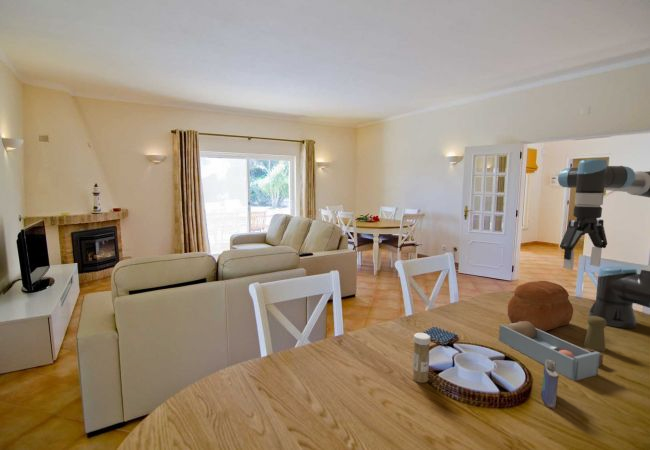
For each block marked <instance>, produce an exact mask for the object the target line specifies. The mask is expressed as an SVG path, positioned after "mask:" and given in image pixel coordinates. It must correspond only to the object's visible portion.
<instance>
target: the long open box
mask: <svg viewBox="0 0 650 450" xmlns="http://www.w3.org/2000/svg"><path fill="white" fill-rule="evenodd" d="M498 341H499V342H501V343H503V344H505V345H506V346H508V347H511V348H512V349H514V350H515V351H517V352H520V353H521V354H523V355H525V356H527V357H529V358H531V359H532V360H534V361H537V363H540V364H542V365H544V364H545V361H546V360H547V359H548V360H551V361H554V362H555V363H556V365H555V370H556V372H557V373H558V374H561V375H563V376H564V377H567V378H568V379H570V380H572V381H574V382H576V381H580V380H583V379H586V378H591V377H594V376H598V374H599V366H600V365H599V358H600V353H601V352H600V351H596V352H589V351H587V349H585V348H583V347H580V346H578V345H576V344H573V343H571V342H570V341H567V340H564V339H562V338H559V337H558V336H555V335H553V334H550V333H548V332H547V331H541V330H539V329H537V328H535V327H534V326H533V324H531V323H530V322H528V321H523V322H521V321H519V322H517V323H514V322H512V323H506V324H505V325H503V324H500V325H499V332H498ZM560 350H567V351H570V352H571V353H572V354H573V355H574V356H575V357H574V358H571V357H569V356H566V355H564V354H562V353H560V352H558V351H560Z"/></svg>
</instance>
